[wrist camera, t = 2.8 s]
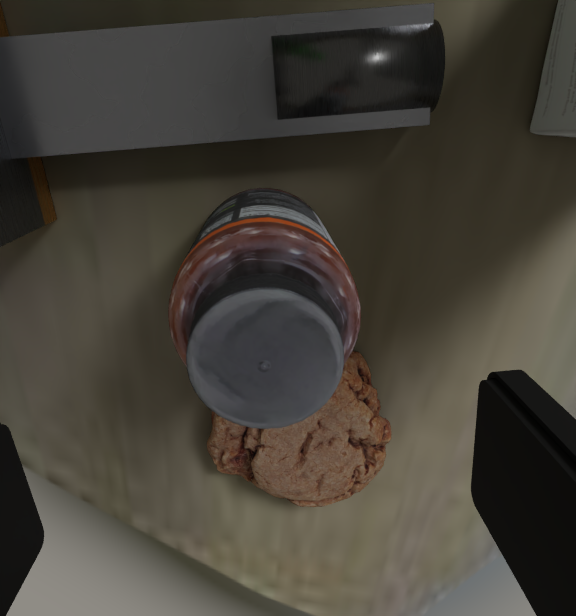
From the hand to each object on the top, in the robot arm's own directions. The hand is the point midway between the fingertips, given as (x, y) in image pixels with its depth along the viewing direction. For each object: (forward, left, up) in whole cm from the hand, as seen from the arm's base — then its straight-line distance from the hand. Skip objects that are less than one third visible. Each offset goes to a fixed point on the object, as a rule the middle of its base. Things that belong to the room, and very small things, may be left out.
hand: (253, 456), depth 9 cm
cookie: (-1, +9, -14) cm, 17 cm away
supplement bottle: (0, -1, -14) cm, 14 cm away
